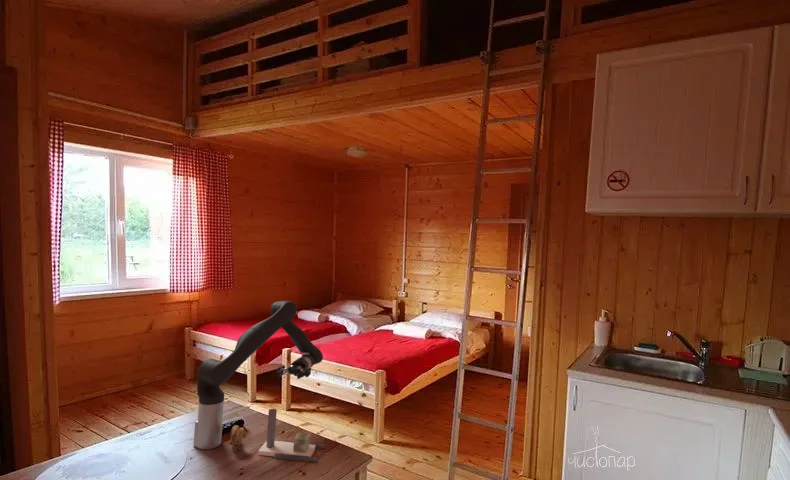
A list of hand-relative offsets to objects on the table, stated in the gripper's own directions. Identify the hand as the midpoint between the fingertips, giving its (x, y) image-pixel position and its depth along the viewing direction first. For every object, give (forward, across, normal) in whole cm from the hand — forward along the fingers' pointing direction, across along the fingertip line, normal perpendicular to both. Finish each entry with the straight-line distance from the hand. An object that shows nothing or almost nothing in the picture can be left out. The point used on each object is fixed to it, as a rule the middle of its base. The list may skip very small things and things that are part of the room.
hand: (288, 375), depth 179 cm
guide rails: (+14, +12, +25) cm, 31 cm away
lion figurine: (+14, -14, +26) cm, 32 cm away
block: (+14, +13, +23) cm, 30 cm away
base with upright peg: (+14, +7, +25) cm, 30 cm away
